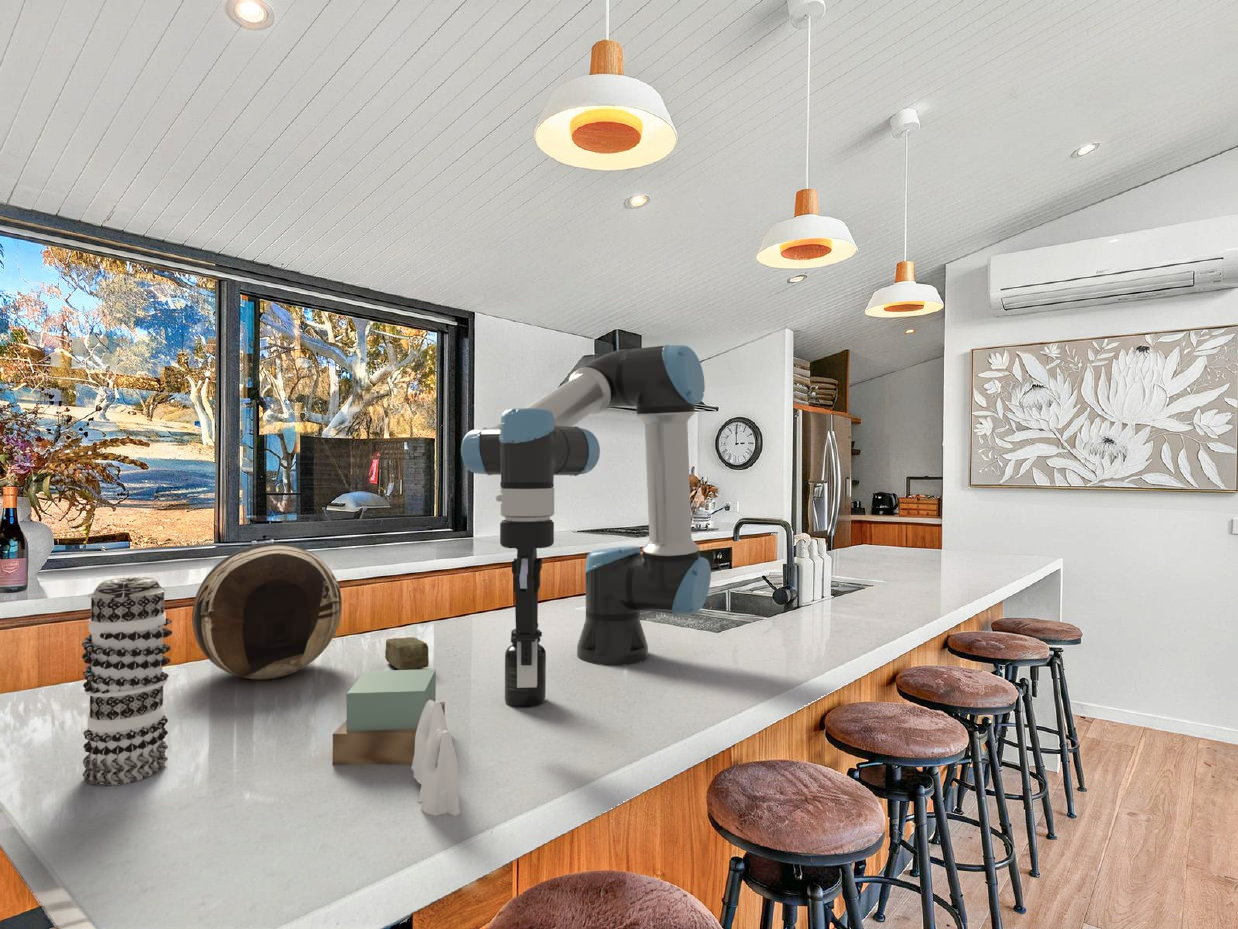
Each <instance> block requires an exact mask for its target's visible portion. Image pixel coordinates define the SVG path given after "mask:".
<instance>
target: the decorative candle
mask: <svg viewBox="0 0 1238 929" xmlns="http://www.w3.org/2000/svg"><path fill="white" fill-rule="evenodd" d="M165 591H167V588H166V587H162V586H161V585H160V584H159V582H158V580H156V579H154V578H153V577H148V576H147V577H146V576H133V577H132V576H131V577H120V578H119V577H118V578H112V579H108V580H105V581H104V580H103V581H101V583H99V584H98V585H97V587H96V588H95V589H94V591H93V592H91V593H89V594H87V597H88V598H90V600H91V602H90V603H91V604H90V618H89V619H88V632H89V633H90V635H88V636H86V637H85V638H84V640H83V641H82V643H81V646H82V647H83V649H84V651H85V652H84V653H82V655H81V658H82V660H83V661H82V662H83V663H84V664H87V666H86V668H85V670H83V673H82V675H83V677H84V680H85V682H84V683H83V684H82V687H83V688H84V693H85V695H87V696H89V702H88V703H89V713H88V714H87V720H86V721H87V722H86V724H87V726H86V727H87V729H85V730H84V731H83V736H84V739H85V740H87V742H85V743H84V744H83V745H82V746H83V748H84V752H86V753H88V754H87V755H86V756H85V757H84V758H83V759H82V764H83V767H84V769H85V770H83V772H82V777H83V780H84V781H85V782H86V783H88V784H90V783H91V784H93V785H95V786H96V785H98V786H101V785H100V784H104V785H103V786H105V785H106V787H109V786H108V785H110V786H112V785H111V784H115V785H118V784H121V785H123V783H124V784H126V783H125V782H128V783H134V781H135V782H136V780H137V781H139V780H142V778H143V779H146V778H148V777H150V776H152V775H155V774H157V772H158V771H160V770H161V769H162V768H163V767H164V766H165V765H166V762H168V756H166V750H168V748H169V745H168V744H167V742H166V740H164V739H166V736H167V735H168V734H169V731H168V730H166V728H165V726H166V724H167V723H168V722H169V719H168V718H167V717H166V715H165V714H166V712H165V711H166V710H165V709H166V708H165V702H164V686H165V684H166V683H167V682H168V681H169V680H168V679H169V676H170V675H169V674H168V673H166V672H164V671H163V667H165V666H166V665H167V664H169V663H171V659H170V658H169V657H167V656H166V655H165V654H166V653H168V652H169V651H170V650H171V646H170V645H167V644H166V643H165V642H164V639H167V638H168V637H170V636H171V635H173V631H172V630H171V629H169V628H167V626H168V625H170V624H171V623H172V622H173V621H172V620H171V619H169V618H167V614H166V613H167V612H165ZM165 627H166V628H165ZM163 642H164V643H163ZM130 781H131V782H130Z"/></svg>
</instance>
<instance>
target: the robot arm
mask: <svg viewBox="0 0 1238 929" xmlns="http://www.w3.org/2000/svg"><path fill="white" fill-rule="evenodd" d="M705 389H706V388H705V376H704V371H703V367H702V364H701V361H700V359H699V357H698V355H697V354H696V352H695V351H694V350H693V349H692V348H691V347H689V346H687V345H684V344H683V345H681V344H680V345H678V344H677V345H676V344H675V345H674V344H672V345H671V344H665V345H658V346H649V347H648V346H647V347H640V348H630V349H629V348H627V349H626V348H625V349H619V350H615V351H612V352H610V353H606V354H604V355H602V356H600V357H598V358H596V359H594V360H592V361H590V362H588V363H586V364H584V365H582V366H581V367H580V368H578V369H576V370H574V371H573V373H571V375H570V376H569V378H568V381H566V382H565V383H563V384H562V385H560V386H558V387H557V388H556V389H553V391H551V392H549V393H547V394H545V395H544V396H543V397H541V398H539V399H538V400H536V401H534V402H533V403H532V404H530V405H528V406H526V407H524V408H522V407H521V408H520V407H517V408H516V407H515V408H509V409H506V410H504V411H503V412H502V414H501V416H500V423H499V424H497V425H495V426H493V427H490V428H487V427H480V428H477V429H472V430H469V431H468V432H467V433H466V434H465V436H464V437H463V438H462V441H461V447H460V454H461V455H460V456H461V458H462V461H463V464H464V467H466V469H467V470H468V471H469V472H472V473H473V474H476V475H477V474H478V475H479V474H480V475H487V476H494V475H498V476H500V484H499V485H500V494H497V495H496V497H495V500H496V502H501V504H500V515H501V517H504V519H503V520H501V522H500V523H499V537H500V538H499V539H500V540H499V544H500V546H501V547H503V548H506V549H516V551H517V552H516V558H514V559H513V561H511V574H512V575H513V577H512V580H513V592H514V609H515V610H514V612H515V629H516V634H515V636H513V637H512V642H517V688H525V687H537V638H536V637H540V638H542V637H543V631H541V630H540V631H539V632H538V631H537V629H539V623H538V620H539V619H538V614H539V613H538V612H539V609H538V608H539V590H540V587H541V570H542V568H543V558H542V557H541V558H539V557H538V552H537V550H538V549H545V548H549V547H551V546H553V545H554V543H555V535H554V534H555V523H554V521H553V519H551V517H552V516H554V515H555V484H554V482H555V481H554V480H555V477H554V476H570V477H571V476H573V477H576V476H579V475H585V474H587V473H589V472H591V471H592V470H594V468H595V467H596V466H597V464H598V462H599V459H600V455H601V448H600V447H601V446H600V442H599V440H598V439H597V437H596V436H595V434H594V433H593V432H592V431H591V430H588V429H586V428H582V427H579V426H577V425H576V424H578V423H579V422H581V421H582V420H584V419H585V418H586V417H589V415H591V414H592V415H594V414H599V413H602V412H603V411H604V410H606V409H609V408H617V407H636V416H637V418H639V419H640V420H641V421H642V422H643V423H644V439H645V458H646V460H645V461H646V462H645V464H646V488H647V491H646V492H647V511H648V514H647V515H648V534H649V535H648V537H649V540H648V542H646V544H645V545H644V546H643V547H642V549H641V547H640V546H638V545H636V546H634V545H633V546H632V545H631V546H629V545H628V546H619V547H610V548H604V549H596V550H592V551H590V552H589V553H588V555H587V557H586V561H585V570H584V574H585V621H584V624H583V627H582V630H581V633H580V636H579V638H578V641H577V642H578V643H577V650H576V652H577V653H576V657H577V658H578V659H579V660H581V661H583V662H586V663H588V664H589V663H590V664H594V665H600V664H602V665H603V666H624V665H623V664H627V665H633V663H634V664H638V663H641V662H643V661H645V660H647V659H648V656H649V645H648V642H647V639H646V636H645V632H644V630H643V627H642V623H641V611H643V612H644V611H645V612H652V613H653V612H654V613H661V614H669V615H673V616H679V615H681V616H693V615H695V614H697V613H698V612H700V610H701V609H702V608H703V606H704V604H705V602H706V600H707V597H708V595H709V590H710V585H711V579H712V577H711V576H712V569H711V566H710V561H709V560H708V559H707V558H705V557H701V555H700V554H701V552H700V546H699V545H698V544H697V543H696V542H695V541H694V540H693V539H692V513H691V512H692V511H691V484H690V481H691V480H690V463H689V462H690V460H689V459H690V457H689V456H690V454H689V452H690V451H689V430H688V428H689V427H688V422H689V420H690V419H691V418H692V416H693V415H694V414H695V405H698V404H700V403H701V402H702V401H703V399H704V396H705V395H704V394H705ZM646 658H647V659H646ZM640 661H641V662H640ZM637 662H638V663H637Z"/></svg>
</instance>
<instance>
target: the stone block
mask: <svg viewBox="0 0 1238 929" xmlns="http://www.w3.org/2000/svg"><path fill="white" fill-rule="evenodd" d="M384 657H385V658H384V659H385V660H386V662H387V663H388V664H390V666H393V667H394V668H396V669H397V670H421V669H424V668H428V667H429V664H430V660H429V646H428V643H427V642H424V641H423V640H420V639H418V638H416V637H415V636H414V637H411V636H409V637H399V638H398V637H397V638H387V639H386V641H385V652H384Z"/></svg>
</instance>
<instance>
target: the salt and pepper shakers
mask: <svg viewBox="0 0 1238 929" xmlns="http://www.w3.org/2000/svg"><path fill="white" fill-rule="evenodd" d="M440 702H441V701H438V700H436V701H435V702H434V701H433V700H429V701H428V702H427V703H426V705H425V707H424V710H423V712H422V715H421V717H420V720H419V724H418V727H417V731H416V736H415V752H414V758H413V763H412V765H411V767H410V768H411V770H412V771H413V778H414V780H416V782H417V783H418V784H420V790H419V794H418V799H417V800H418V803H420V811H421V812H424V813H425V814H427V815H431V816H435V817H436V816H440V815H445V814H450V815H452V816H457V815H460V814H461V810H460V802H459V800H460V799H459V792H458V791H459V790H458V789H459V765H458V764H459V763H458V758H457V755H456V750H455V747H454V742H453V739H452V735H451V733H450V732H449V728H448V726H447V722H446V717H445V716H446V715H445V716H444V712H443V709H442V706H441V703H440Z"/></svg>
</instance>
